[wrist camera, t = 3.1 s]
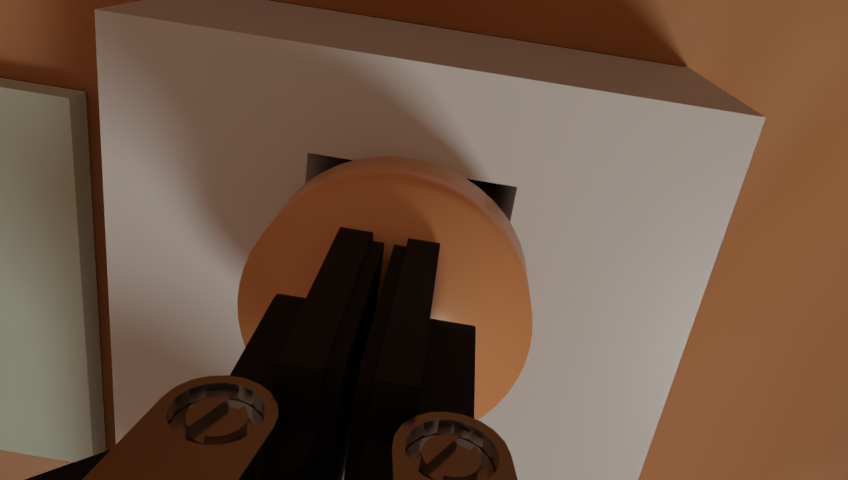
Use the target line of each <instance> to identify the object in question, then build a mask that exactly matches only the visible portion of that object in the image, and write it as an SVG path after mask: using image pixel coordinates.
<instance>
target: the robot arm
mask: <svg viewBox="0 0 848 480" xmlns="http://www.w3.org/2000/svg"><path fill="white" fill-rule="evenodd" d="M439 250H440V243H436V242H430V241H424V240H417V239H411V238H408V241H407V245H406V246H401V245H395V244H394V247H393V250H392V254H391V257H390V261H389V264H388V268H387V271H386V275H385V278H384V282H383V286H382V289H381V293H380V296H379V300H378V303H377V298H378V290H379V283H380V275H381V267H382V260H383V252H384V243H383V242H377V241H373V232H369V231H362V230H356V229H350V228H344V227H340V228H339V230H338V232H337V234H336V236H335V238H334V241H333V243H332V245H331V247H330V249H329V251H328V253H327V255H326V257H325V259H324V261H323V264H322V266H321V268H320V270H319V272H318V274H317V276H316V278H315V280H314V282H313V284H312V286H311V289H310V291H309V293H308V295H307V297H306V298H303V297H297V296H291V295H285V294H276V296H275V297H274V298H273V300H272V302H271V303H270V305H269V307H268V309H267V310H266V312H265V314H264V316H263V317H262V319H261V321H260V323H259V325H258V326H257V328H256V330H255V332H254V333H253V335H252V337H251V339H250V340H249V342H248V344H247V346H246V347H245V349H244V351H243V353H242V354H241V356H240V358H239V360H238V362H237V363H236V365H235V367H234V369H233V370H232V372H231V374H230V376H229V375H221V376H206V377H201V378H197V379H192V380H189V381H187V382H185V383H183V384H180V385H178V386H176V387H174V388H173V389H171V390H170V391H169V392H168V393H166V394H165V395H164V396H162V397H161V398H160V399H159V400H158V402H157V403H156V404H155V405H154V406H153V407H152V408H151V409H150V410H149V411H148V412H147V413H146V414H145V415H144V416H143V417H142V418H141V419H140V420H139V421H138V422H137V423H136V424H135V425H134V426H133V427H132V428H131V430H130V431H129V432H128V433H127V434H126V435H125V436H124V437H123V438H122V439H121V440H120V441H119V442H118V443H117V444H116V445H115V446H114V447H113V448H112V449H111V450H108V451H105V452H102V453H99V454H96V455H94V456H91V457H88V458H85V459H82V460H79V461H77V462H74V463H71V464H68V465H65V466H62V467H60V468H57V469H54V470H51V471H48V472H45V473H42V474H40V475H37V476H34V477H31V478H28V479H25V480H342V478H343V474H344V480H518V479H517V475H516V472H515V468H514V464H513V460H512V456H511V453H510V451H509V449H508V447H507V445H506V443H505V441H504V440H503V439H502V438H501V437H500V436H499V435H498V434H497V433H496V432H495V430H493V429H492V428H490V427H489V426H487V425H485V424H484V423H482V422H481V421H479V420H476V419H474V397H475V343H476V327H475V326H473V325H467V324H461V323H455V322H449V321H443V320H436V319H430V316H431V309H432V301H433V294H434V287H435V279H436V272H437V265H438V257H439ZM376 305H377V307H376ZM344 471H345V473H344Z"/></svg>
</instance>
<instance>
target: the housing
mask: <svg viewBox="0 0 848 480" xmlns="http://www.w3.org/2000/svg"><path fill="white" fill-rule="evenodd" d="M94 13H95V34H96V54H97V74H98V94H99V115H100V135H101V155H102V175H103V196H104V216H105V236H106V256H107V277H108V297H109V317H110V337H111V358H112V378H113V398H114V418H115V439H116V444H117V443H118V442H119V441H120V440H121V439H122V438H123V437H124V436H125V435H126V434H127V433H128V432H129V431H130V430H131V428H132V427H133V426H134V425H135V424H136V423H137V422H138V421H139V420H140V419H141V418H142V417H143V416H144V415H145V414H146V413H147V412H148V411H149V410H150V409H151V408H152V407H153V406H154V405H155V404H156V403H157V402H158V400H159V399H160V398H161V397H162V396H164V395H165V394H166V393H168V392H169V391H170V390H171V389H173V388H174V387H176V386H178V385H180V384H183V383H185V382H187V381H189V380H192V379H197V378H201V377H206V376H221V375H229V376H230V374H231V372H232V370H233V369H234V367H235V365H236V363H237V362H238V360H239V358H240V356H241V354H242V353H243V351H244V349H245V345H244V342H243V339H242V336H241V331H240V326H239V320H238V305H237V299H238V291H239V283H240V279H241V276H242V272H243V268H244V266H245V264H246V261H247V259H248V257H249V255H250V252H251V251H252V249H253V248H254V246H255V245H256V243H257V241H258V240H259V238H260V237H261V235H262V234H263V233H264V231H265V230H266V229H267V227H268V226H269V225H270V223H271V222H272V221H273V219H274V218H275V217H276V215H277V214H278V213H279V211H280V210H281V209H282V207H283V206H284V204H285V203H286V202H287V201H288V200H289V199H290V198H291V197H292V195H293V194H294V193H295V192H296V191H297V190H298V189H300V188H301V187H302V186H303V185H304V184H306V183H307V182H308V181H309V180H311V179H313V178H314V177H316V176H317V175H319V174H321V173H322V172H324V171H326V170H328V169H331V168H333V167H335V166H337V165H340V164H343V163H347V159H349V160H357V159H364V158H370V157H386V156H395V157H405V158H413V159H417V160H422V161H426V162H430V163H433V164H436V165H439V166H441V167H444V168H447V169H449V170H451V171H453V172H455V173H457V174H459V175H461V176H463V177H464V178H466V179H471V180H477V181H483V182H490V183H496V189H495V194H494V199H493V201H494V202H495V203H496V204H497V206H498V207H499V208H500V209H501V210H502V211H503V213H504V214H505V215H506V217H507V219H508V220H509V222H510V223H511V225H512V226H513V228H514V230H515V232H516V235H517V237H518V239H519V241H520V244H521V247H522V250H523V254H524V257H525V262H526V269H527V277H528V284H529V292H530V300H531V308H532V337H531V344H530V349H529V353H528V356H527V359H526V362H525V365H524V367H523V369H522V371H521V373H520V375H519V377H518V379H517V381H516V382H515V384H514V385H513V386H512V388H511V389H510V391H509V392H508V394H507V395H506V396H505V397H504V398H503V399H502V400H501V401H500V402H499V403H498V404H497V405H496V406H495V407H494V408H493V409H492V410H490V411H489V412H488V413H487V414H486V415H484V416H483V417H481V418H480V419H478V420H479V421H481V422H482V423H484V424H485V425H487V426H489V427H490V428H492V429H493V430H495V432H496V433H497V434H498V435H499V436H500V437H501V438H502V439H503V440H504V441H505V443H506V445H507V447H508V449H509V451H510V453H511V456H512V460H513V464H514V468H515V472H516V475H517V479H518V480H638V478H639V475H640V472H641V470H642V467H643V464H644V461H645V458H646V455H647V453H648V450H649V447H650V444H651V441H652V438H653V436H654V433H655V430H656V427H657V424H658V421H659V419H660V416H661V413H662V410H663V407H664V404H665V402H666V399H667V396H668V393H669V390H670V387H671V385H672V382H673V379H674V376H675V373H676V370H677V368H678V365H679V362H680V359H681V356H682V353H683V351H684V348H685V345H686V342H687V339H688V336H689V334H690V331H691V328H692V325H693V322H694V319H695V317H696V314H697V311H698V308H699V305H700V302H701V300H702V297H703V294H704V291H705V288H706V285H707V283H708V280H709V277H710V274H711V271H712V268H713V266H714V263H715V260H716V257H717V254H718V251H719V249H720V246H721V243H722V240H723V237H724V234H725V232H726V229H727V226H728V223H729V220H730V217H731V215H732V212H733V209H734V206H735V203H736V200H737V198H738V195H739V192H740V189H741V186H742V183H743V180H744V178H745V175H746V172H747V169H748V166H749V163H750V161H751V158H752V155H753V152H754V149H755V146H756V144H757V141H758V138H759V135H760V132H761V129H762V127H763V124H764V121H765V118H766V117H764V116H763V115H761V114H760V113H758V112H757V111H755V110H754V109H752V108H750V107H749V106H747V105H746V104H744V103H743V102H741V101H740V100H738V99H737V98H735V97H733V96H732V95H730V94H729V93H727V92H726V91H724V90H723V89H721V88H719V87H718V86H716V85H715V84H713V83H712V82H710V81H709V80H707V79H706V78H704V77H702V76H701V75H699V74H698V73H696V72H695V71H693V70H692V69H690V68H687V67H681V66H675V65H669V64H662V63H656V62H650V61H644V60H637V59H631V58H625V57H619V56H612V55H606V54H600V53H594V52H587V51H581V50H575V49H569V48H562V47H556V46H550V45H544V44H538V43H531V42H525V41H519V40H513V39H506V38H500V37H494V36H488V35H481V34H475V33H469V32H463V31H456V30H450V29H444V28H438V27H431V26H425V25H419V24H413V23H406V22H400V21H394V20H388V19H381V18H375V17H369V16H363V15H356V14H350V13H344V12H338V11H332V10H325V9H319V8H313V7H307V6H300V5H294V4H288V3H282V2H275V1H269V0H141V1H135V2H130V3H125V4H120V5H114V6H109V7H104V8H98V9H94Z"/></svg>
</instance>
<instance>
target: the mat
mask: <svg viewBox="0 0 848 480" xmlns="http://www.w3.org/2000/svg"><path fill="white" fill-rule="evenodd" d="M0 450H4V451H10V452H16V453H22V454H28V455H34V456H39V457H45V458H51V459H57V460H63V461H69V462H77V461H79V460H82V459H85V458H88V457H91V456H94V455H96V454H99V453H102V452H104V451H105V450H106V438H105V421H104V403H103V385H102V368H101V350H100V333H99V315H98V297H97V280H96V262H95V245H94V227H93V210H92V192H91V174H90V157H89V139H88V122H87V104H86V92H85V91H79V90H73V89H66V88H60V87H54V86H48V85H42V84H36V83H30V82H23V81H17V80H11V79H5V78H0Z"/></svg>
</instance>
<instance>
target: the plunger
mask: <svg viewBox="0 0 848 480" xmlns="http://www.w3.org/2000/svg"><path fill="white" fill-rule="evenodd" d="M340 227H344V228H350V229H356V230H362V231H369V232H373V241H377V242H383V243H384V252H383V260H382V267H381V275H380V283H379V290H378V298H377V303H378V300H379V296H380V293H381V289H382V286H383V282H384V278H385V275H386V271H387V268H388V264H389V261H390V257H391V254H392V250H393V247H394V244H395V245H401V246H406V245H407V241H408V238H411V239H417V240H424V241H430V242H436V243H440V250H439V257H438V265H437V272H436V279H435V287H434V294H433V301H432V309H431V316H430V319H436V320H443V321H449V322H455V323H461V324H467V325H473V326H475V327H476V343H475V397H474V419H476V420H478V419H480V418H481V417H483V416H484V415H486V414H487V413H488V412H489V411H490V410H492V409H493V408H494V407H495V406H496V405H497V404H498V403H499V402H500V401H501V400H502V399H503V398H504V397H505V396H506V395H507V394H508V392H509V391H510V389H511V388H512V386H513V385H514V384H515V382H516V381H517V379H518V377H519V375H520V373H521V371H522V369H523V367H524V365H525V362H526V359H527V356H528V353H529V349H530V344H531V337H532V308H531V300H530V292H529V284H528V277H527V269H526V262H525V257H524V254H523V250H522V247H521V244H520V241H519V239H518V237H517V235H516V232H515V230H514V228H513V226H512V225H511V223H510V222H509V220H508V219H507V217H506V215H505V214H504V213H503V211H502V210H501V209H500V208H499V207H498V206H497V204H496V203H495V202H494V201H493V200H492V199H491V198H490V197H489V196H488V195H487V194H486V193H485V192H483V191H482V190H481V189H480V188H479V187H477V186H476V185H475V184H473V183H472V182H470V181H469V180H467V179H466V178H464V177H463V176H461V175H459V174H457V173H455V172H453V171H451V170H449V169H447V168H444V167H441V166H439V165H436V164H433V163H430V162H426V161H422V160H417V159H413V158H405V157H395V156H386V157H370V158H364V159H357V160H353V161H350V162H347V163H343V164H340V165H337V166H335V167H333V168H331V169H328V170H326V171H324V172H322V173H321V174H319V175H317V176H316V177H314V178H313V179H311V180H309V181H308V182H307V183H306V184H304V185H303V186H302V187H301V188H300V189H298V190H297V191H296V192H295V193H294V194H293V195H292V197H291V198H290V199H289V200H288V201H287V202H286V203H285V204H284V206H283V207H282V209H281V210H280V211H279V213H278V214H277V215H276V217H275V218H274V219H273V221H272V222H271V223H270V225H269V226H268V227H267V229H266V230H265V231H264V233H263V234H262V235H261V237H260V238H259V240H258V241H257V243H256V245H255V246H254V248H253V249H252V251H251V252H250V255H249V257H248V259H247V261H246V264H245V266H244V268H243V272H242V276H241V279H240V283H239V291H238V299H237V305H238V320H239V326H240V331H241V336H242V339H243V342H244V345H245V347H246V346H247V344H248V342H249V340H250V339H251V337H252V335H253V333H254V332H255V330H256V328H257V326H258V325H259V323H260V321H261V319H262V317H263V316H264V314H265V312H266V310H267V309H268V307H269V305H270V303H271V302H272V300H273V298H274V297H275V296H276V294H285V295H291V296H297V297H303V298H306V297H307V295H308V293H309V291H310V289H311V286H312V284H313V282H314V280H315V278H316V276H317V274H318V272H319V270H320V268H321V266H322V264H323V261H324V259H325V257H326V255H327V253H328V251H329V249H330V247H331V245H332V243H333V241H334V238H335V236H336V234H337V232H338V230H339V228H340ZM376 307H377V305H376Z"/></svg>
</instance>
